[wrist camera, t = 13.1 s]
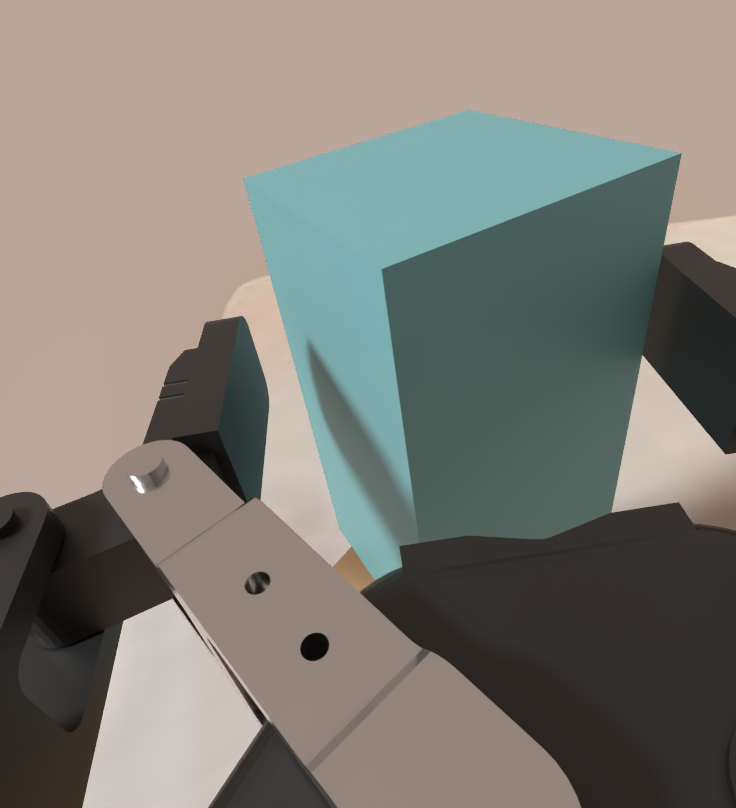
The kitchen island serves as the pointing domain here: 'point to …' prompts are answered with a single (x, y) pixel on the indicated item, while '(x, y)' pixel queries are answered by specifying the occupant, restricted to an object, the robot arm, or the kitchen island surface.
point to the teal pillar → (467, 321)
